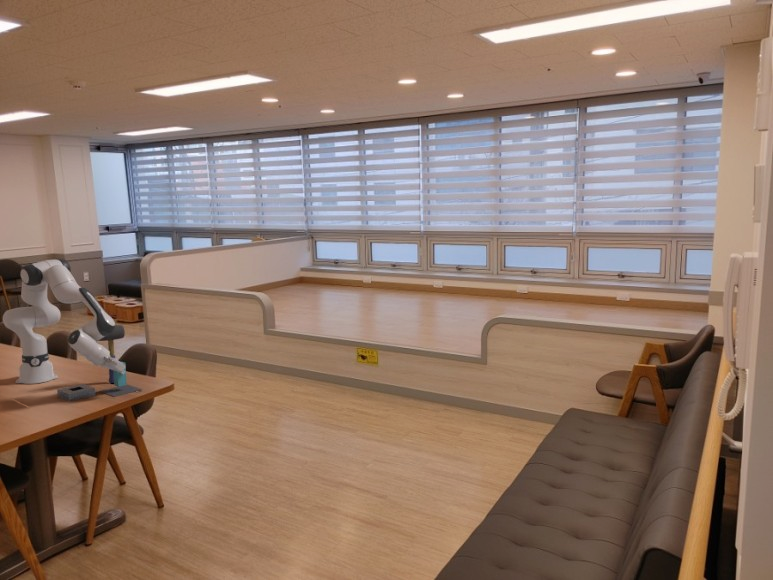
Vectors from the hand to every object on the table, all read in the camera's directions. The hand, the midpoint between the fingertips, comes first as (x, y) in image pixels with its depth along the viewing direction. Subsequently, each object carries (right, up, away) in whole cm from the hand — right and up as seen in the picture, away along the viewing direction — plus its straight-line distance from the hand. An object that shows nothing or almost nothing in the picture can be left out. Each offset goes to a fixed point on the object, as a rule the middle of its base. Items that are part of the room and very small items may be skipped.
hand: (121, 372), depth 279 cm
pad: (0, -10, +1) cm, 10 cm away
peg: (0, -6, 0) cm, 6 cm away
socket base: (-17, -11, -8) cm, 22 cm away
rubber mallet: (-11, -8, +15) cm, 21 cm away
